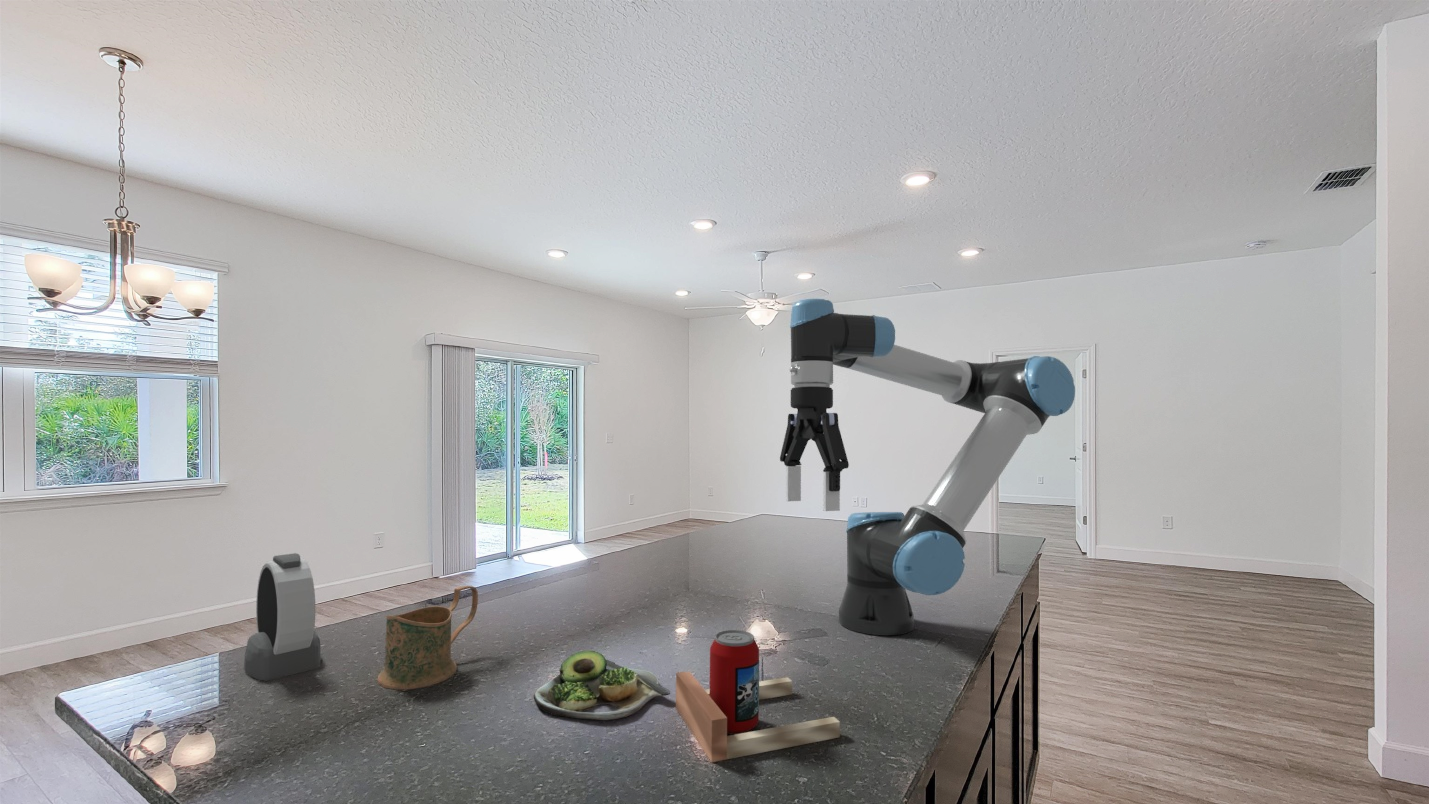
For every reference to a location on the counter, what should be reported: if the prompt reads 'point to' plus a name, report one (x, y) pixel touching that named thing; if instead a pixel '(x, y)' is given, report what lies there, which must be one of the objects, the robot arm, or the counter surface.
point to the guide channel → (718, 746)
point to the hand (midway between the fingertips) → (811, 505)
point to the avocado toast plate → (597, 688)
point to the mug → (422, 645)
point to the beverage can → (735, 679)
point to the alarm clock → (284, 621)
